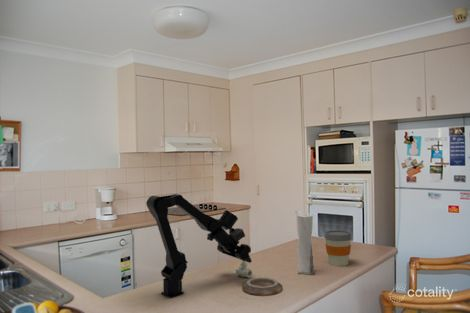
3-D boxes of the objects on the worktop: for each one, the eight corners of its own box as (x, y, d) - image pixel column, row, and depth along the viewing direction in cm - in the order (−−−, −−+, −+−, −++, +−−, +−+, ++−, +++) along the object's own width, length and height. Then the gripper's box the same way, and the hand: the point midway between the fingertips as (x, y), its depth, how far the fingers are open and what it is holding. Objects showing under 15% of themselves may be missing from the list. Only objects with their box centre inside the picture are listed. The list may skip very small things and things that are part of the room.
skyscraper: (294, 273, 171) (293, 211, 171) (298, 268, 179) (296, 209, 179) (313, 275, 168) (312, 212, 168) (316, 270, 176) (315, 209, 176)
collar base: (264, 299, 141) (264, 292, 141) (234, 289, 152) (234, 282, 152) (290, 288, 152) (290, 281, 152) (260, 279, 164) (260, 273, 164)
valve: (242, 273, 172) (242, 247, 173) (254, 276, 168) (253, 249, 168) (233, 277, 167) (232, 250, 167) (245, 280, 163) (244, 252, 163)
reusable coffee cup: (342, 268, 177) (341, 236, 177) (320, 263, 187) (319, 232, 187) (356, 263, 185) (356, 232, 185) (334, 258, 195) (334, 229, 195)
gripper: (246, 226, 157) (267, 248, 164) (222, 220, 173) (242, 241, 179) (231, 248, 153) (253, 270, 159) (207, 240, 168) (228, 261, 175)
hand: (244, 259), depth 168 cm, fingers open, 9 cm apart
